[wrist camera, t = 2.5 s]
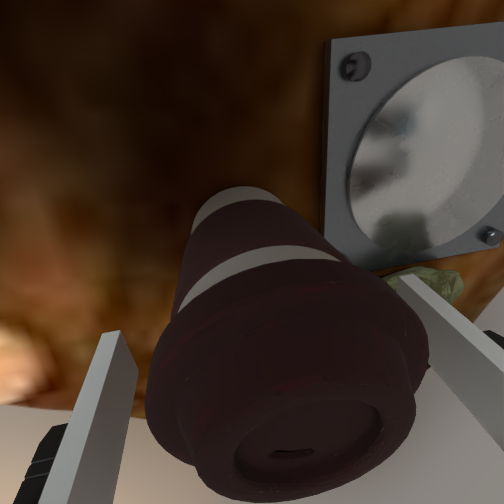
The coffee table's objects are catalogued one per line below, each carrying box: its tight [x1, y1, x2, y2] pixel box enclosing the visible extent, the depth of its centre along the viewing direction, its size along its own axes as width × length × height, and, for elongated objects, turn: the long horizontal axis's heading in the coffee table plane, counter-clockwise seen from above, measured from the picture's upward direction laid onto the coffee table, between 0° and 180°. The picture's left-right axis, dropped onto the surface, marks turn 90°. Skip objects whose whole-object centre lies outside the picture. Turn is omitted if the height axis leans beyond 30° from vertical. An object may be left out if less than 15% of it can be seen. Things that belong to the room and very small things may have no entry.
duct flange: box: [319, 22, 504, 271], centre depth 20 cm, size 16×16×2 cm
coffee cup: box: [145, 186, 430, 503], centre depth 15 cm, size 10×10×15 cm
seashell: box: [381, 266, 465, 305], centre depth 26 cm, size 10×7×10 cm
